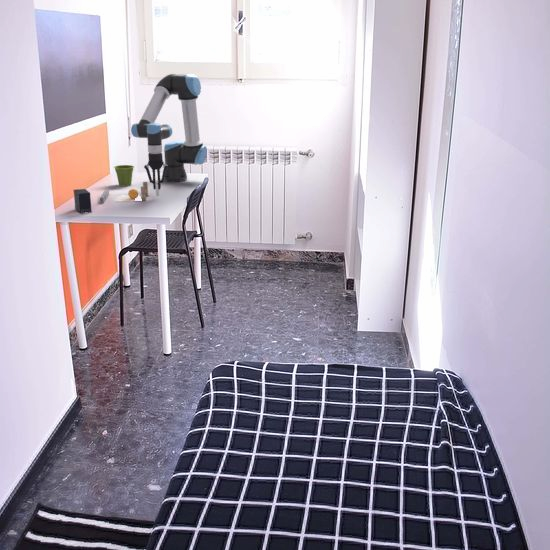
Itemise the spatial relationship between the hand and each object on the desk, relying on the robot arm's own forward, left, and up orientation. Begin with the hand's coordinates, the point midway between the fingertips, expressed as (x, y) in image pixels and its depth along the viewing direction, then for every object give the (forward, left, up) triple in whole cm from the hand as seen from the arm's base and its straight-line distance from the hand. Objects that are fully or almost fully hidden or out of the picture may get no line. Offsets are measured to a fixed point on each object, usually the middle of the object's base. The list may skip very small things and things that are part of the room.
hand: (157, 195), depth 370 cm
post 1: (-6, -7, -2) cm, 10 cm away
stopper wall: (0, -29, -2) cm, 29 cm away
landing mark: (0, -15, -2) cm, 15 cm away
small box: (+25, -36, -2) cm, 44 cm away
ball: (0, -13, +1) cm, 13 cm away
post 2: (+6, -7, -2) cm, 10 cm away
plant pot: (-35, -22, -2) cm, 41 cm away
